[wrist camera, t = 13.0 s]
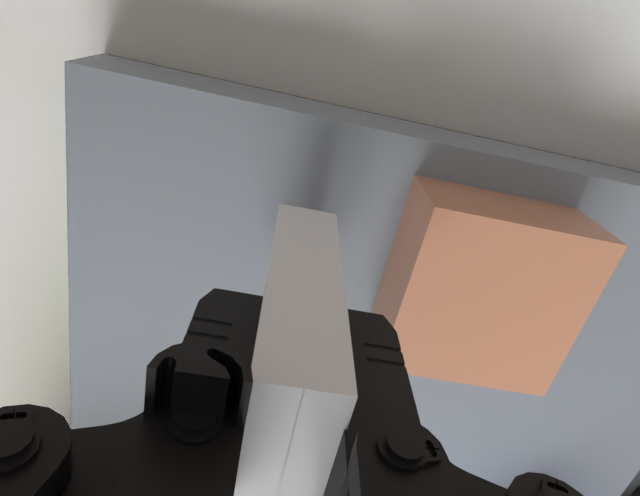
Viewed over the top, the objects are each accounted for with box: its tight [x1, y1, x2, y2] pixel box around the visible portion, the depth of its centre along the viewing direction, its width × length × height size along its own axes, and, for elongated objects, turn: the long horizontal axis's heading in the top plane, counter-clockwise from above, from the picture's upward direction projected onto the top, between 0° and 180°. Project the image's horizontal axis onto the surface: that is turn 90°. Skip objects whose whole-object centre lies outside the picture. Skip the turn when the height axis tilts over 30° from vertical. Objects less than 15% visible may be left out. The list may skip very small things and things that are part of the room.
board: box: [65, 54, 640, 496], centre depth 17 cm, size 22×14×2 cm, turn 78°
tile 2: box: [371, 174, 628, 397], centre depth 14 cm, size 5×5×2 cm
